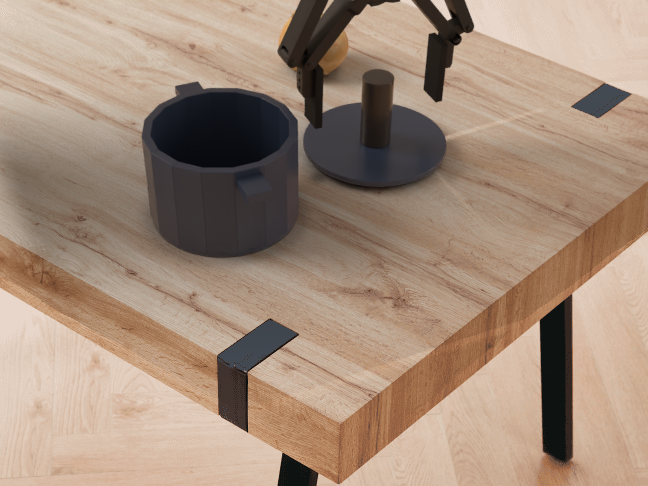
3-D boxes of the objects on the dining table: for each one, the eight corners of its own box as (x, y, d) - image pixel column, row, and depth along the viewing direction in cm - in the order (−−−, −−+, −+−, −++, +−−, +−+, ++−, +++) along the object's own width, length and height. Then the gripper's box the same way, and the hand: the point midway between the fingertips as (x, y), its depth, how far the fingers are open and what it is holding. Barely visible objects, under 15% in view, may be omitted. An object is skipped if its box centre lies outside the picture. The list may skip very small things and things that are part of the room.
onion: (327, 44, 129) (328, -11, 125) (360, 75, 124) (362, 18, 120) (267, 58, 126) (266, 2, 122) (298, 90, 121) (298, 33, 116)
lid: (339, 205, 106) (342, 130, 100) (281, 128, 115) (279, 55, 110) (471, 171, 111) (481, 98, 105) (404, 100, 121) (409, 29, 115)
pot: (189, 291, 95) (181, 205, 89) (125, 173, 108) (114, 91, 102) (333, 251, 100) (335, 167, 94) (256, 143, 113) (253, 63, 107)
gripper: (272, -61, 89) (274, 153, 103) (527, -99, 98) (497, 102, 112) (239, -96, 94) (246, 113, 108) (485, -129, 103) (461, 68, 117)
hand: (374, 108), depth 110 cm, fingers open, 13 cm apart
